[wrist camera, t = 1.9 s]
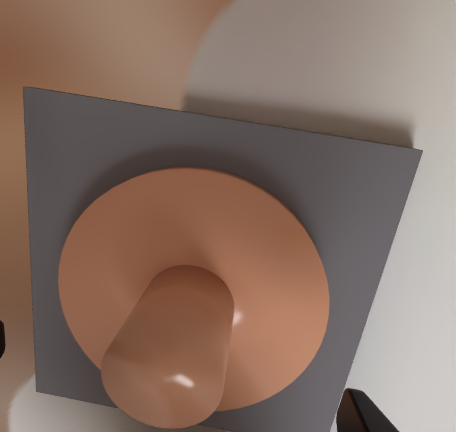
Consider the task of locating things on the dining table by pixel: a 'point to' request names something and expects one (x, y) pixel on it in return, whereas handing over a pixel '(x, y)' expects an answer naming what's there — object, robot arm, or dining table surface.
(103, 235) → the lid
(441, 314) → the dining table surface
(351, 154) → the mat
